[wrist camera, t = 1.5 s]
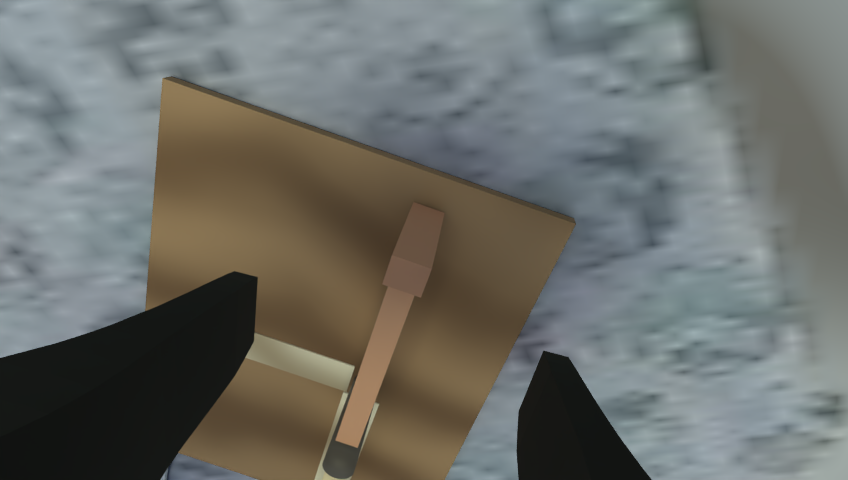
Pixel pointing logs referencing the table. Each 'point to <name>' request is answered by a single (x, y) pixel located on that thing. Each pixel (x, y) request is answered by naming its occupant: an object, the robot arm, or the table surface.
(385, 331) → the fence panel
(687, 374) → the table surface
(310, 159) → the board
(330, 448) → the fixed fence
